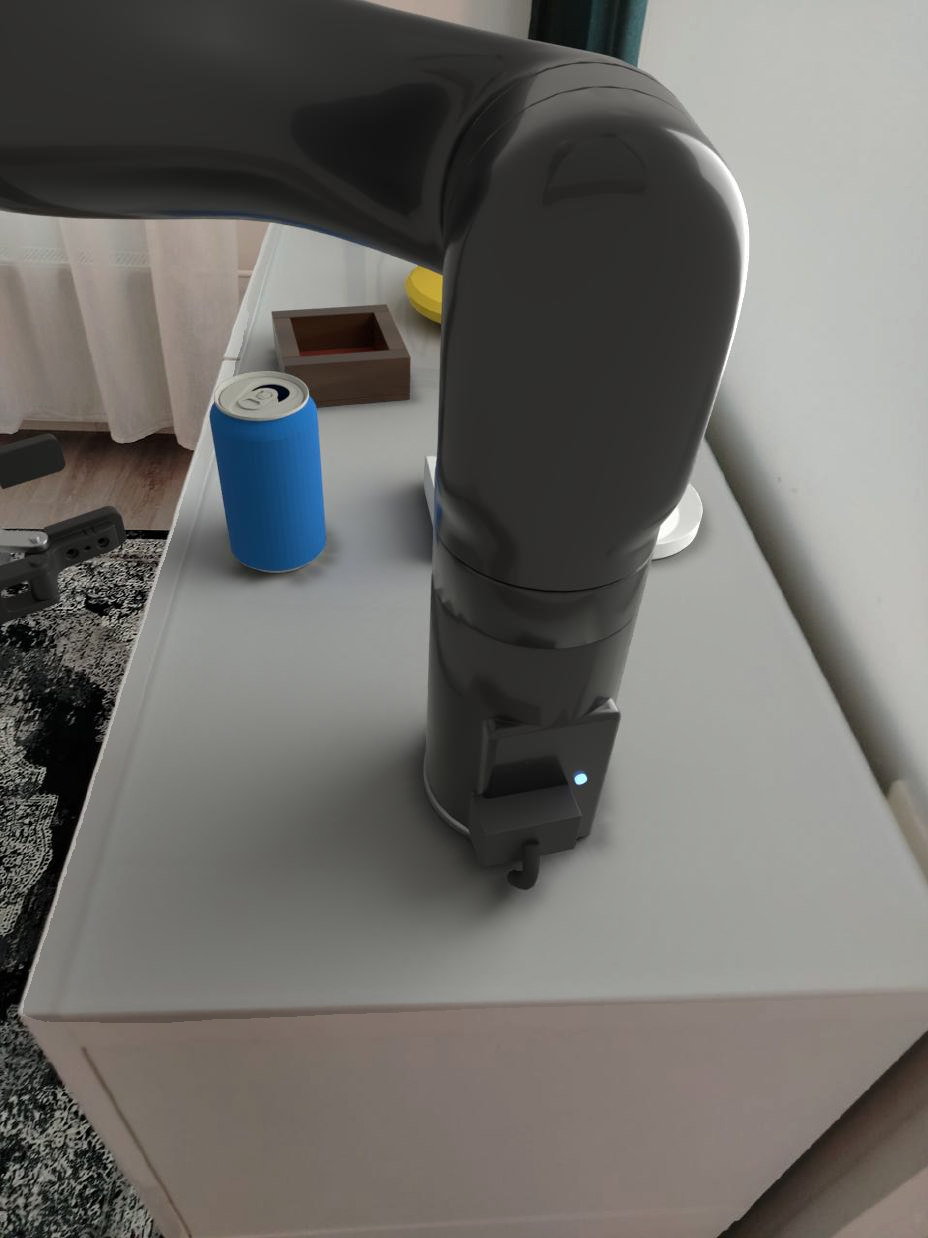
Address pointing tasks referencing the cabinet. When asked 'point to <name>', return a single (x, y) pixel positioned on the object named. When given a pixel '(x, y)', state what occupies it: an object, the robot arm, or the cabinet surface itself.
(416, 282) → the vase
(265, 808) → the cabinet surface
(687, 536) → the white flat rounded piece
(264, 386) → the beverage can
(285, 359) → the brown wooden open box
